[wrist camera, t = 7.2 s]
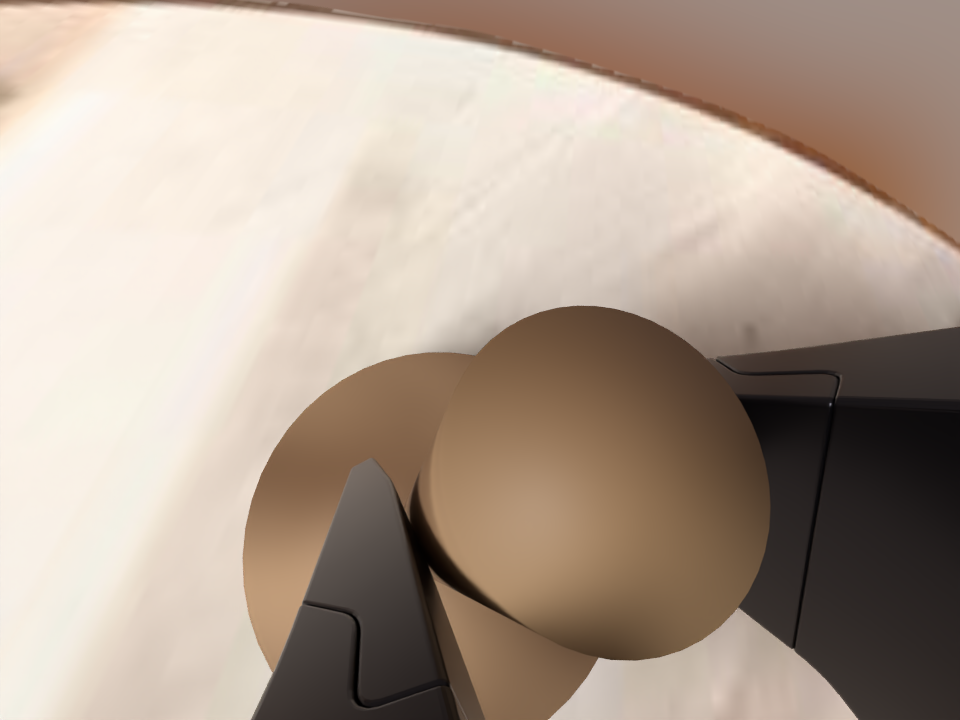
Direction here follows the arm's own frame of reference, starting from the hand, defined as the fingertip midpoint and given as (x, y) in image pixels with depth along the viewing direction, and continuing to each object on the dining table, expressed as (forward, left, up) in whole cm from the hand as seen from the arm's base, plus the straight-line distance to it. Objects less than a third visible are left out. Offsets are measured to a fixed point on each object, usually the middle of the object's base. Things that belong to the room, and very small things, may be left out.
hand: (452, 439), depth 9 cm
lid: (-1, -1, -7) cm, 7 cm away
